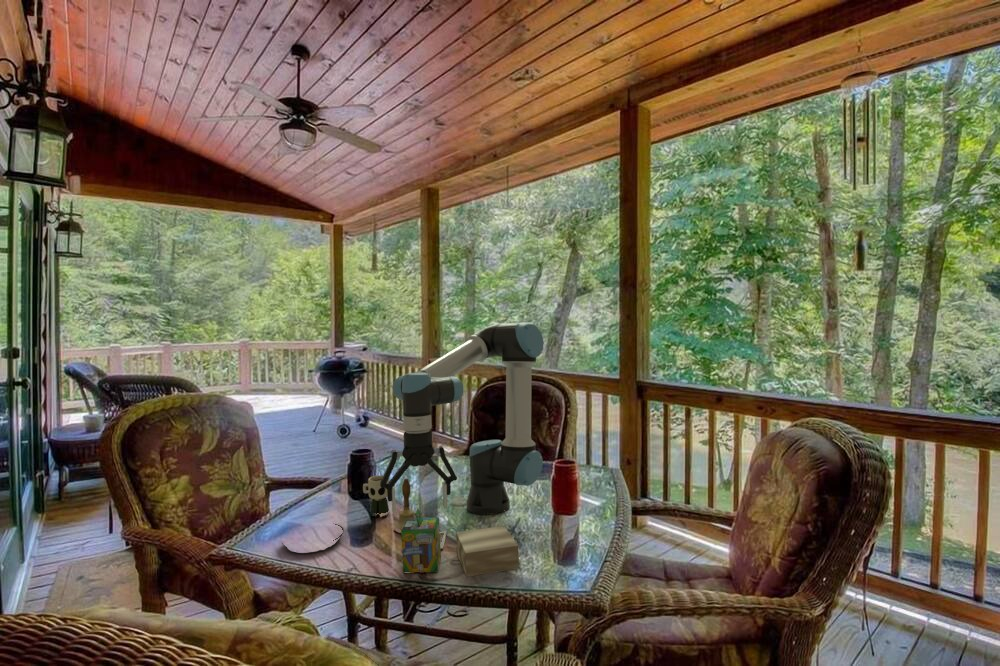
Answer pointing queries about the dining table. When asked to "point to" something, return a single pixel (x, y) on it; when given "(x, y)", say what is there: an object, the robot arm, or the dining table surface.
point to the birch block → (487, 550)
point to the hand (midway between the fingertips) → (419, 510)
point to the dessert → (443, 540)
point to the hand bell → (405, 505)
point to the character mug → (377, 494)
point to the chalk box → (421, 544)
